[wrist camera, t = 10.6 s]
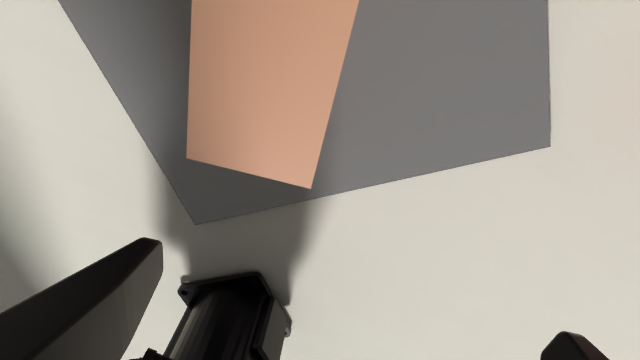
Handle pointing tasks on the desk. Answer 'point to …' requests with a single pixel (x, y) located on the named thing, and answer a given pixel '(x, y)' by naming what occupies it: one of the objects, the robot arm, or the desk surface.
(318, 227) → the desk surface
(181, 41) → the grey mat
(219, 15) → the peach block
